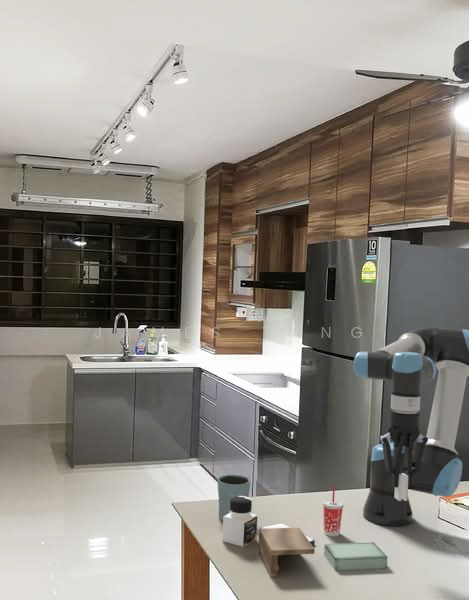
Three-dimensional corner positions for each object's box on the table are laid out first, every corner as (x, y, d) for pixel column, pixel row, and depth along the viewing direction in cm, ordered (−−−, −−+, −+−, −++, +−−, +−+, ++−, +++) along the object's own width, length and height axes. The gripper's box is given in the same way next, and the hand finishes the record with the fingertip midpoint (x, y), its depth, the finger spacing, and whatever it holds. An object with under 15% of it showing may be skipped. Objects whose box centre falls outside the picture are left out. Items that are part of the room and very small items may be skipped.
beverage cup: (333, 528, 196) (336, 481, 195) (346, 535, 190) (348, 487, 190) (317, 531, 193) (319, 483, 192) (329, 538, 187) (331, 490, 187)
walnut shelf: (298, 552, 177) (299, 527, 177) (313, 575, 163) (314, 549, 163) (258, 553, 175) (259, 528, 175) (270, 577, 161) (271, 550, 161)
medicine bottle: (243, 547, 179) (245, 504, 178) (221, 541, 182) (223, 498, 182) (256, 539, 185) (258, 497, 184) (235, 533, 188) (237, 492, 188)
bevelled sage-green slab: (373, 553, 178) (374, 542, 178) (386, 567, 170) (387, 556, 169) (324, 555, 176) (324, 544, 176) (335, 570, 167) (335, 558, 167)
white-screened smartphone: (257, 532, 191) (291, 552, 178) (258, 527, 191) (291, 546, 178) (282, 527, 196) (316, 546, 183) (282, 522, 196) (317, 540, 183)
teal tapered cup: (226, 526, 193) (227, 486, 193) (209, 515, 202) (211, 476, 202) (255, 521, 199) (256, 481, 198) (238, 510, 207) (239, 472, 207)
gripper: (385, 413, 169) (381, 504, 169) (436, 413, 171) (431, 503, 172) (374, 407, 176) (370, 494, 177) (423, 408, 178) (418, 493, 179)
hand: (400, 498), depth 174 cm, fingers closed
